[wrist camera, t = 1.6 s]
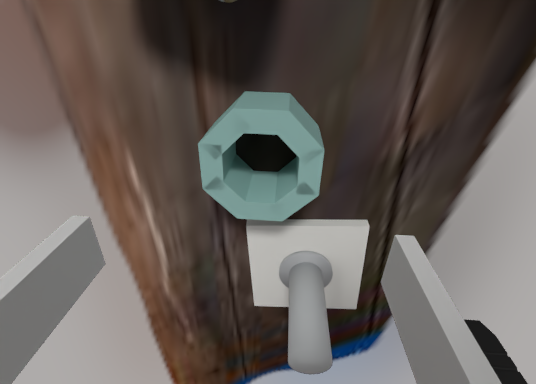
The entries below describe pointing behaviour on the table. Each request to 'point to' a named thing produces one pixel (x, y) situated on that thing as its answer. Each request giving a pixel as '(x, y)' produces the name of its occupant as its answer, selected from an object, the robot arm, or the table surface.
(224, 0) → the ceramic mug
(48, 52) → the table surface
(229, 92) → the table surface
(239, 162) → the ring
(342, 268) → the plate with round peg
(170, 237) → the table surface
